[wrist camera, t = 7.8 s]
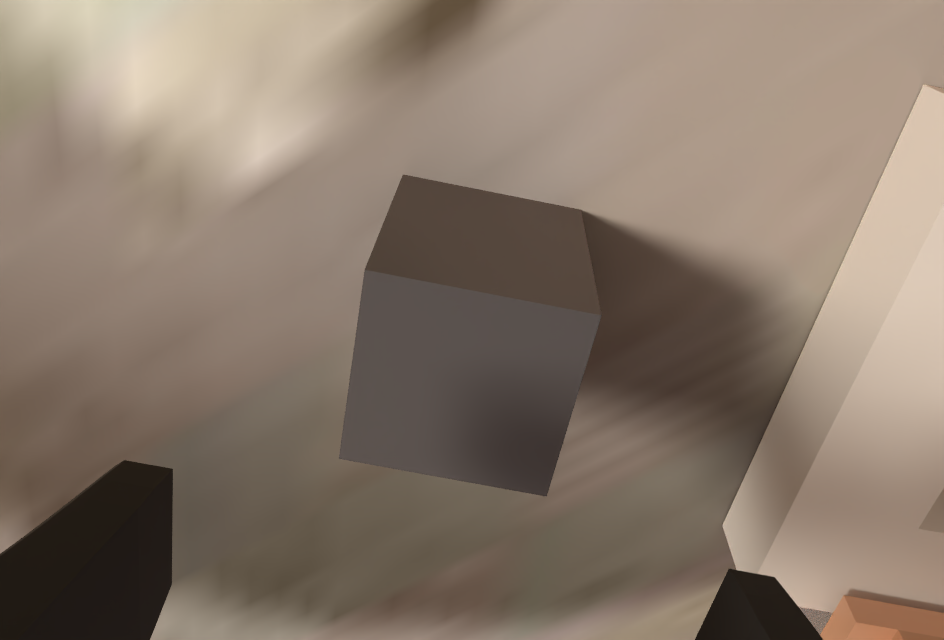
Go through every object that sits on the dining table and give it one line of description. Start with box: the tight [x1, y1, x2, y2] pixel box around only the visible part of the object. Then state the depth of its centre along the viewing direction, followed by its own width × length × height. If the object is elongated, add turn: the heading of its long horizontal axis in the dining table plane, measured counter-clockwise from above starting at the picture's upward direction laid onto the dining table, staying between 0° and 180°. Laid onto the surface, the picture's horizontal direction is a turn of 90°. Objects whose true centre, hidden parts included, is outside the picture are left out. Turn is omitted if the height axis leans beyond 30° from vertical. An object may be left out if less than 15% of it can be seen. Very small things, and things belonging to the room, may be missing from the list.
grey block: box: [339, 175, 602, 496], centre depth 16 cm, size 4×4×5 cm
